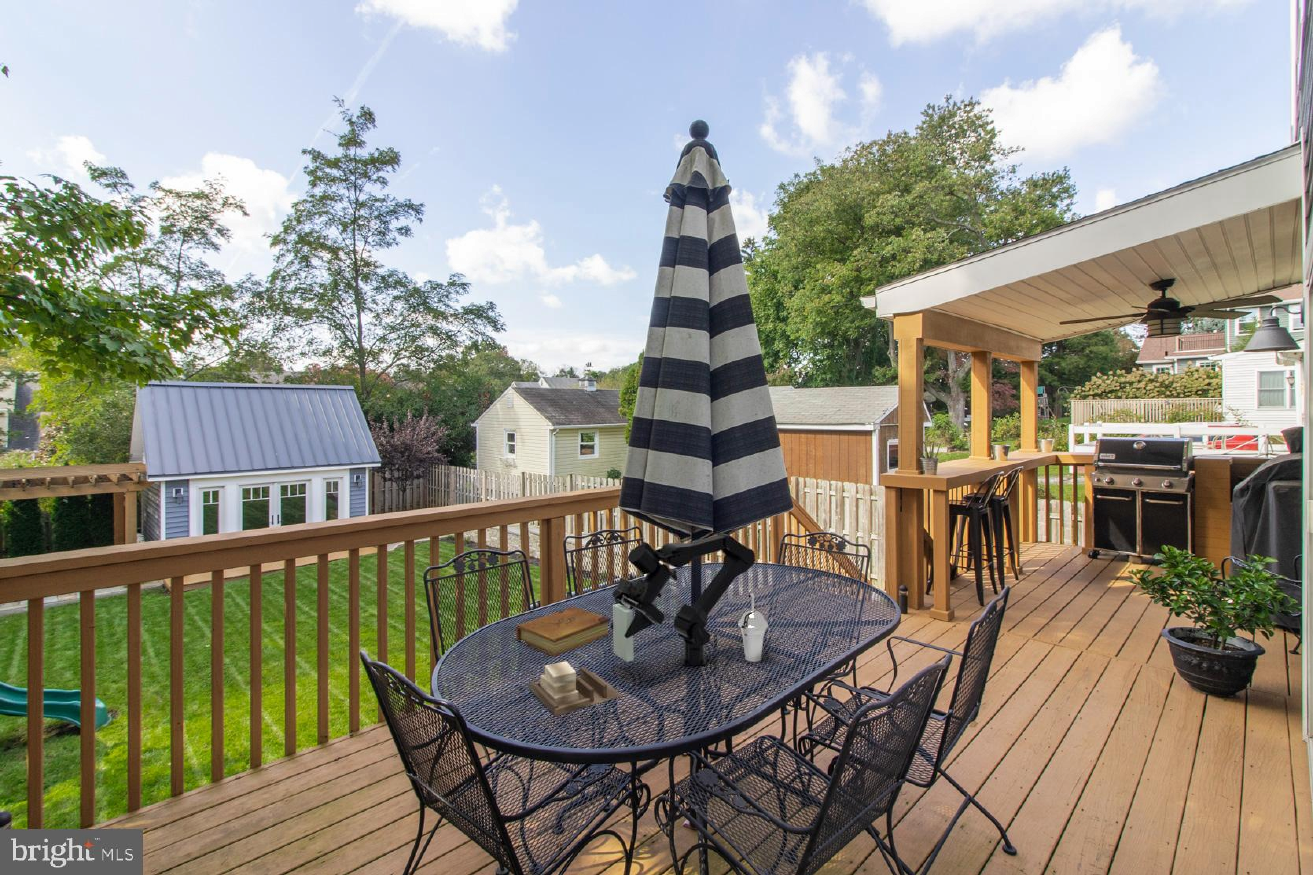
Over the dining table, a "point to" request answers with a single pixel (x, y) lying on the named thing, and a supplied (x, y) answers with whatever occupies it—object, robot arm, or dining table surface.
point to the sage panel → (622, 632)
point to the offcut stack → (560, 683)
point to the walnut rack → (579, 693)
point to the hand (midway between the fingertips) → (618, 633)
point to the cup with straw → (753, 632)
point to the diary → (563, 630)
